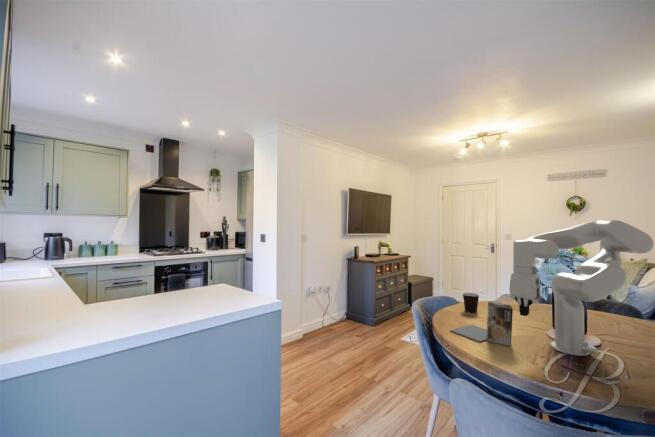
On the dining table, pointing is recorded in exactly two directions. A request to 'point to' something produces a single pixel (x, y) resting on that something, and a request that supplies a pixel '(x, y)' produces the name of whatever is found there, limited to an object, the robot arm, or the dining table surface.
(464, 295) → the coffee mug
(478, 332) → the mat
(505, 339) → the coffee box
